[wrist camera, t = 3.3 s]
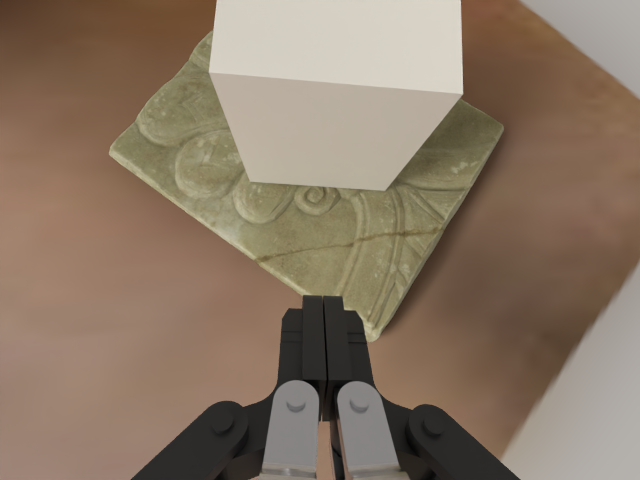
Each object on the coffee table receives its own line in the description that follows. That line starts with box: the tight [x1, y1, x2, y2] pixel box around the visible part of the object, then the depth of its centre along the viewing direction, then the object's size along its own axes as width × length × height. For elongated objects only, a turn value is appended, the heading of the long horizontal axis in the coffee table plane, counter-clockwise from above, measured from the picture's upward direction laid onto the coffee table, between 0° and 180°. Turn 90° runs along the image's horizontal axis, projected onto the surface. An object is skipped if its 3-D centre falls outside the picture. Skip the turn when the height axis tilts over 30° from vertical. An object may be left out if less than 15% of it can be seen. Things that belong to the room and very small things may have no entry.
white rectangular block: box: [209, 0, 463, 191], centre depth 16 cm, size 8×4×10 cm, turn 87°
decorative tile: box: [109, 30, 504, 343], centre depth 23 cm, size 19×20×4 cm
